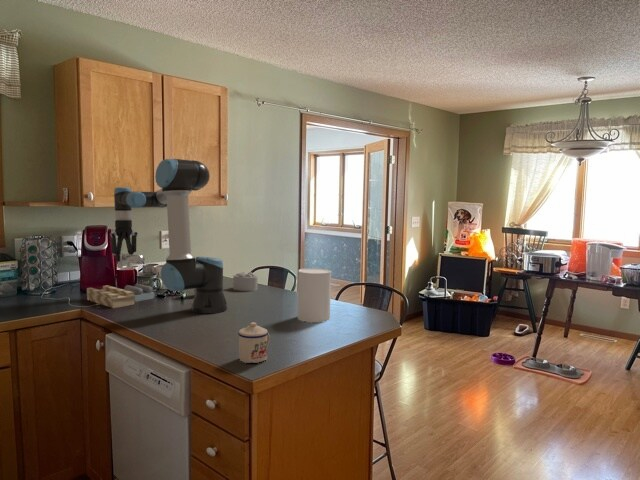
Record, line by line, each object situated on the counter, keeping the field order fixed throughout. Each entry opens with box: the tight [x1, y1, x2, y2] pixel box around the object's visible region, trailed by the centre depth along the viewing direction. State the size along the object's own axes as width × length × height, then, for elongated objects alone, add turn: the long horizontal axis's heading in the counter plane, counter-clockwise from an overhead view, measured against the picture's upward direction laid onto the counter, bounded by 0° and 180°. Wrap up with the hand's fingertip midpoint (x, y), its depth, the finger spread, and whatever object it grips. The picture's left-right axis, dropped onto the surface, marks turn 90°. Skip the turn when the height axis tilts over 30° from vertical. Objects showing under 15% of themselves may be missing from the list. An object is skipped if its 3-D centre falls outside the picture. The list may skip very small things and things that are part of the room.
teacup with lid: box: [238, 321, 271, 362], centre depth 152 cm, size 12×9×12 cm
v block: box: [123, 283, 155, 303], centre depth 232 cm, size 11×10×6 cm
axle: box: [120, 252, 146, 265], centre depth 232 cm, size 16×4×4 cm, turn 54°
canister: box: [297, 267, 332, 323], centre depth 201 cm, size 14×14×20 cm
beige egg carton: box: [86, 284, 135, 309], centre depth 224 cm, size 24×10×6 cm, turn 51°
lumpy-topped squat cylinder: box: [232, 271, 258, 292], centre depth 259 cm, size 10×13×9 cm
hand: (124, 267), depth 236 cm, fingers closed on axle, 4 cm apart
